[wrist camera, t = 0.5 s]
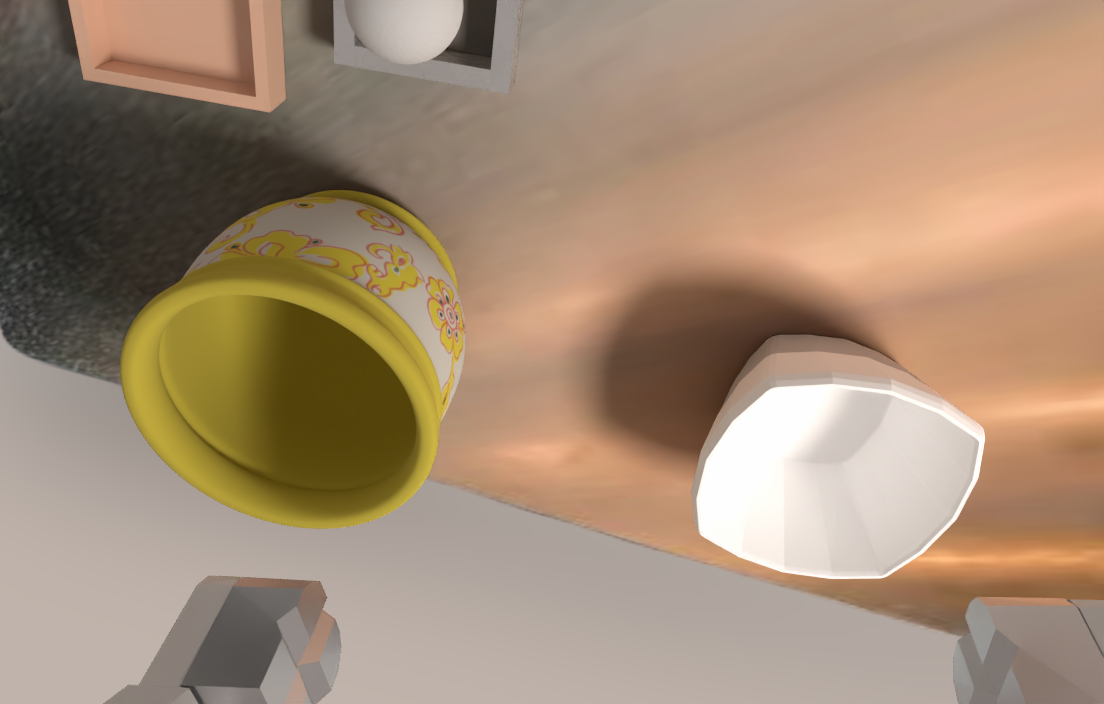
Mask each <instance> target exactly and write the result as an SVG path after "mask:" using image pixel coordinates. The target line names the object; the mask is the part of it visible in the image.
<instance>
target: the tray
mask: <svg viewBox="0 0 1104 704" xmlns="http://www.w3.org/2000/svg"><path fill="white" fill-rule="evenodd" d="M68 2H69V8H70V13H71V18H72V23H73V28H74V33H75V38H76V43H77V48H78V53H79V58H80V63H81V68H82V74H83V79H84V80H90V81H95V82H101V83H106V84H112V85H118V86H123V87H129V88H135V89H140V90H146V91H152V92H157V93H163V94H169V95H174V96H180V97H186V98H191V99H197V100H202V101H208V102H214V103H219V104H225V105H231V106H236V107H242V108H248V109H253V110H259V111H265V112H271V111H272V110H273V109H275V108H276V107H277V106H278V105H279V104H281V103H282V102H283V101H284V100H285V99H286V91H285V72H284V53H283V34H282V14H281V0H68Z"/></svg>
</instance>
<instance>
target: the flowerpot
mask: <svg viewBox="0 0 1104 704" xmlns="http://www.w3.org/2000/svg"><path fill="white" fill-rule="evenodd" d="M465 344H466V331H465V320H464V314H463V309H462V304H461V301H460V298H459V294H458V287H457V280H456V276H455V272H454V269H453V266H452V264H451V261H450V259H449V257H448V255H447V253H446V251H445V250H444V248H443V247H442V245H441V244H440V242H439V241H438V239H437V238H436V237H435V236H434V234H433V233H432V232H431V231H430V230H429V229H428V228H427V227H426V226H425V225H424V224H423V223H422V222H421V221H419V220H418V219H417V218H416V217H415V216H413V215H412V214H410V213H409V212H408V211H406V210H404V209H403V208H401V207H399V206H398V205H396V204H394V203H392V202H390V201H387V200H385V199H383V198H380V197H377V196H374V195H371V194H367V193H363V192H357V191H350V190H328V191H321V192H317V193H312V194H309V195H306V196H304V197H301V198H296V199H290V200H285V201H281V202H277V203H274V204H271V205H268V206H265V207H263V208H261V209H258V210H256V211H254V212H252V213H250V214H248V215H246V216H244V217H243V218H241V219H239V220H238V221H236V222H235V223H234V224H232V225H231V226H229V227H228V228H227V229H225V230H224V231H223V232H222V233H221V234H220V235H218V236H217V237H216V238H215V239H214V240H213V241H212V242H211V243H210V244H209V245H208V246H207V247H206V248H205V249H204V250H203V252H202V253H201V254H200V255H199V256H198V257H197V259H196V260H195V261H194V263H193V264H192V265H191V267H190V268H189V269H188V271H187V272H186V274H185V275H184V277H183V278H182V279H181V280H180V281H179V282H178V283H176V284H175V285H173V286H171V287H169V288H167V289H166V290H164V291H163V292H161V293H160V294H158V295H157V296H156V297H155V298H153V299H152V300H151V301H150V302H149V303H148V304H147V305H146V306H145V307H144V308H143V309H142V310H141V311H140V313H139V314H138V315H137V317H136V318H135V319H134V321H133V323H132V325H131V326H130V328H129V330H128V333H127V335H126V337H125V340H124V344H123V347H122V353H121V361H120V376H121V384H122V389H123V393H124V397H125V400H126V403H127V406H128V409H129V411H130V413H131V416H132V418H133V420H134V421H135V423H136V425H137V427H138V429H139V430H140V432H141V434H142V435H143V437H144V438H145V439H146V441H147V442H148V444H149V445H150V446H151V447H152V449H153V450H154V451H155V452H156V453H157V454H158V456H159V457H160V458H161V459H162V460H163V461H164V462H165V463H166V464H167V465H168V466H169V467H170V468H171V469H172V470H173V471H175V472H176V473H177V474H178V475H179V476H180V477H182V478H183V479H185V481H187V482H188V483H189V484H191V485H192V486H194V487H195V488H197V489H198V490H199V491H201V492H203V493H204V494H206V495H208V496H209V497H211V498H213V499H214V500H216V501H218V502H220V503H222V504H224V505H226V506H228V507H230V508H232V509H234V510H237V511H239V512H241V513H244V514H247V515H250V516H252V517H255V518H258V519H261V520H265V521H269V522H272V523H277V524H281V525H287V526H293V527H302V528H315V529H327V528H341V527H349V526H354V525H358V524H362V523H366V522H369V521H372V520H375V519H377V518H380V517H382V516H384V515H386V514H388V513H390V512H392V511H394V510H395V509H396V508H398V507H400V506H401V505H402V504H404V503H405V502H406V501H408V500H409V499H410V498H411V497H412V496H413V495H414V494H415V493H416V492H417V490H418V489H419V488H420V487H421V485H422V484H423V482H424V481H425V479H426V478H427V476H428V474H429V472H430V470H431V468H432V465H433V463H434V460H435V457H436V453H437V448H438V441H439V427H440V423H441V421H442V419H443V417H444V415H445V413H446V411H447V409H448V407H449V405H450V403H451V401H452V398H453V396H454V393H455V391H456V388H457V385H458V382H459V378H460V375H461V371H462V367H463V361H464V355H465Z"/></svg>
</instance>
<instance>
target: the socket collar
mask: <svg viewBox="0 0 1104 704" xmlns="http://www.w3.org/2000/svg"><path fill="white" fill-rule="evenodd" d="M523 5H524V0H497V8H496V19H495V29H494V40H493V50H492V58H491V57H485V56H480V55H474V54H468V53H463V52H457V51H451V50H446V49H445V50H444V51H443V52H442V53H440V54H439V55H438V56H436V57H434V58H432V59H430V60H428V61H425V62H422V63H418V64H410V65H409V64H398V63H393V62H390V61H387V60H385V59H382V58H380V57H379V56H377V55H375V54H374V53H372V52H371V51H370V50H369V49H367V48H366V47H365V46H364V45H363V44H362V43H361V41H360V40H359V39H358V37H357V36H356V35H355V33H354V31H353V29H352V28H351V26H350V23H349V21H348V18H347V14H346V11H345V4H344V0H333V10H334V63H335V64H341V65H347V66H352V67H358V68H364V69H369V70H375V71H380V72H386V73H392V74H397V75H403V76H409V77H414V78H420V79H426V80H431V81H437V82H443V83H448V84H454V85H460V86H465V87H471V88H477V89H482V90H488V91H494V92H499V93H505V94H509V93H510V91H511V89H512V87H513V85H514V83H515V76H516V67H517V58H518V49H519V40H520V31H521V23H522V14H523Z"/></svg>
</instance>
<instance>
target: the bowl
mask: <svg viewBox="0 0 1104 704" xmlns="http://www.w3.org/2000/svg"><path fill="white" fill-rule="evenodd" d="M984 442H985V435H984V429H983V428H982V427H981V425H979V424H978V423H977V422H975V421H974V420H973V419H971V418H970V417H969V416H968V415H966V414H965V413H964V412H962V411H961V410H960V409H958V408H957V407H956V406H954V405H953V404H952V403H951V402H949V401H948V400H947V399H945V398H944V397H943V396H941V395H940V394H939V393H937V392H936V391H934V390H933V389H931V388H930V387H929V386H927V385H926V384H925V383H923V382H922V381H921V380H919V379H918V378H917V377H916V376H914V375H913V374H912V373H910V372H909V371H908V370H906V369H905V368H904V367H902V366H901V365H900V364H898V363H896V362H895V361H893V360H891V359H889V358H888V357H886V356H884V355H883V354H881V353H879V352H877V351H875V350H872V349H870V348H867V347H865V346H862V345H859V344H857V343H854V342H852V341H849V340H847V339H841V338H833V337H825V336H816V335H776V336H772V337H771V338H769V339H767V340H766V341H765V342H764V343H763V344H762V345H761V346H760V348H759V349H758V350H757V351H756V352H755V353H754V354H753V355H752V356H751V357H750V358H749V360H748V361H747V363H746V364H745V366H744V367H743V369H742V370H741V372H740V373H739V375H738V376H737V378H736V380H735V381H734V383H733V384H732V386H731V388H730V390H729V392H728V395H727V397H726V399H725V401H724V403H723V405H722V408H721V410H720V412H719V414H718V415H717V417H716V419H715V421H714V423H713V426H712V428H711V430H710V432H709V434H708V436H707V439H706V441H705V443H704V445H703V447H702V449H701V453H700V457H699V461H698V465H697V469H696V473H695V477H694V482H693V486H692V490H691V492H692V502H693V513H694V523H695V526H696V528H697V531H698V532H699V533H700V534H701V535H702V536H703V537H705V538H706V539H708V540H710V541H712V542H713V543H715V544H717V545H719V546H720V547H722V548H724V549H726V550H727V551H729V552H731V553H733V554H735V555H736V556H738V557H740V558H743V559H746V560H749V561H752V562H755V563H758V564H760V565H763V566H766V567H769V568H772V569H775V570H778V571H781V572H785V573H792V574H800V575H807V576H815V577H822V578H829V579H856V578H884V577H886V576H888V575H890V574H891V573H893V572H894V571H896V570H897V569H899V568H901V567H902V566H904V565H905V564H907V563H908V562H910V561H911V560H913V559H914V558H916V557H918V556H919V555H921V554H922V553H923V552H924V551H925V550H926V549H927V548H928V547H929V546H930V545H931V544H932V543H933V542H934V541H935V540H936V539H937V538H938V537H939V536H940V535H941V534H942V533H943V532H944V531H945V530H946V529H947V528H948V527H950V526H951V525H952V524H953V523H954V522H955V521H956V519H957V517H958V515H959V514H960V512H961V510H962V508H963V506H964V504H965V502H966V500H967V498H968V496H969V495H970V493H971V491H972V489H973V487H974V485H975V483H976V481H977V479H978V476H979V471H980V465H981V459H982V453H983V448H984Z"/></svg>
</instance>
